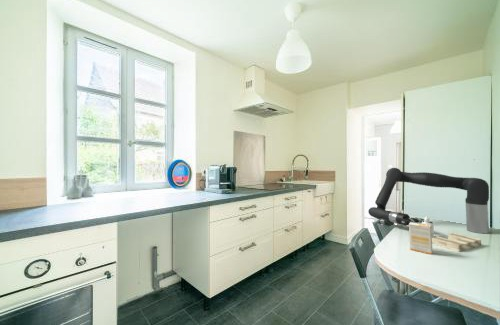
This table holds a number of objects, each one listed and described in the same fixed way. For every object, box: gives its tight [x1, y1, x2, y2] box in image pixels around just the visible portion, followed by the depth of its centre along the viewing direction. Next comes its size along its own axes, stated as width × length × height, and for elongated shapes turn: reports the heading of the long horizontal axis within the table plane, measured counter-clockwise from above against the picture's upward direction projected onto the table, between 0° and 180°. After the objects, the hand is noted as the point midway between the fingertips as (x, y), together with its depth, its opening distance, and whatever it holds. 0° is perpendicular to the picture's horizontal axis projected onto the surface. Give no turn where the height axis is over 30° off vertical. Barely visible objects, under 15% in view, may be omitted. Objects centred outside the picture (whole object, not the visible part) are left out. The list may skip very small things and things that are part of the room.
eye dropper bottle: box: [422, 215, 435, 238], centre depth 118 cm, size 4×6×12 cm
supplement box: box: [408, 222, 433, 255], centre depth 99 cm, size 8×5×13 cm, turn 43°
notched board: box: [432, 232, 482, 253], centre depth 106 cm, size 20×11×3 cm, turn 110°
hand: (427, 224), depth 118 cm, fingers open, 8 cm apart
